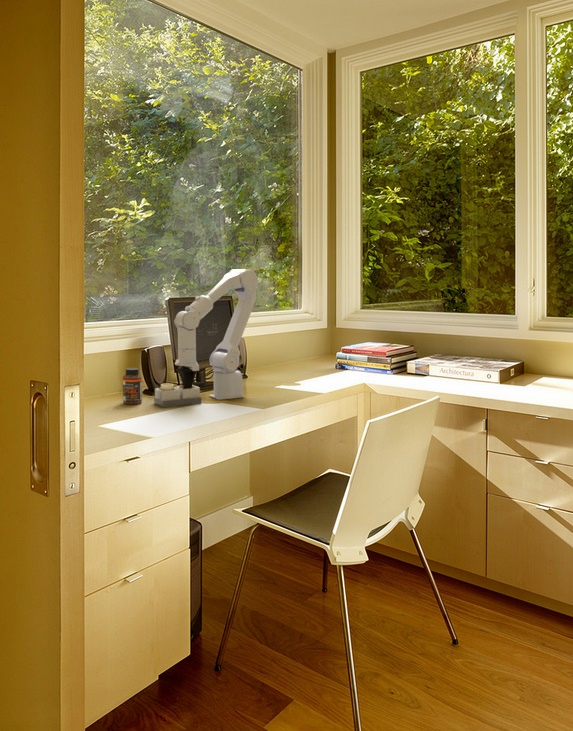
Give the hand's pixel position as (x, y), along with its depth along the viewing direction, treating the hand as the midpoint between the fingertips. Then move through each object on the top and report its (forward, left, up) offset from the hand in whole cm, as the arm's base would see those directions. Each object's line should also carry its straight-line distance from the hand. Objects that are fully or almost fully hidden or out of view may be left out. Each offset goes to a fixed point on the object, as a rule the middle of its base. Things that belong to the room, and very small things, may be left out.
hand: (187, 390), depth 202 cm
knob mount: (+3, 0, -4) cm, 5 cm away
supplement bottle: (+16, -8, -4) cm, 18 cm away
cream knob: (+7, 0, 0) cm, 7 cm away
